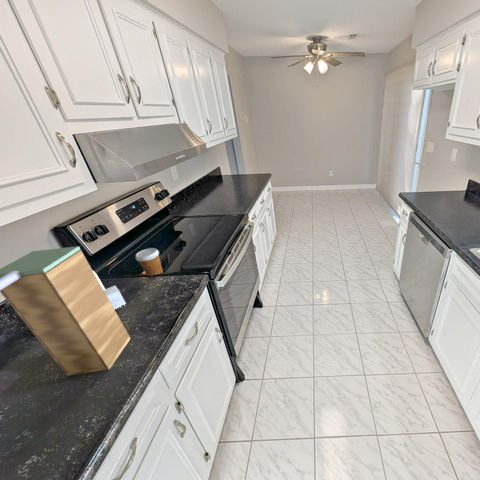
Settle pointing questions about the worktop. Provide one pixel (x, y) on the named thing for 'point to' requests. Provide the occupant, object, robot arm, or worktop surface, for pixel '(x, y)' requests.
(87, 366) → the tall bin
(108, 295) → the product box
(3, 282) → the sliding top
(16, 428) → the worktop surface
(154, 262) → the disposable coffee cup
